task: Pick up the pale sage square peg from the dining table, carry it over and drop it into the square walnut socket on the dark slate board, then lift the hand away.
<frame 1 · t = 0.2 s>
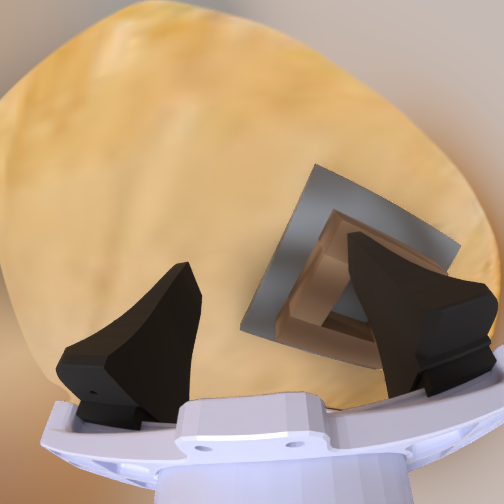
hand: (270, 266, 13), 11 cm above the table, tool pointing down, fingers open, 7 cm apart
socket: (355, 284, 25), on the table
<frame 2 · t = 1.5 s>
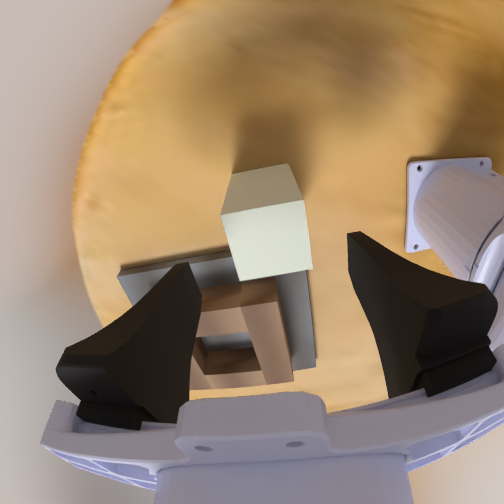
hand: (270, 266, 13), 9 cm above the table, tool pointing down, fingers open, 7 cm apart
socket: (227, 323, 27), on the table
peg: (265, 194, 20), on the table
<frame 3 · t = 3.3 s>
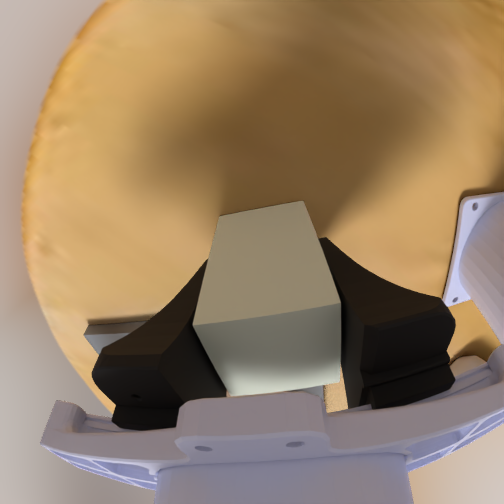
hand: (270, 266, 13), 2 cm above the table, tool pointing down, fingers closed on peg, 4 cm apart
socket: (220, 385, 21), on the table
peg: (268, 244, 14), on the table, touching gripper
tube: (482, 374, 24), on the table
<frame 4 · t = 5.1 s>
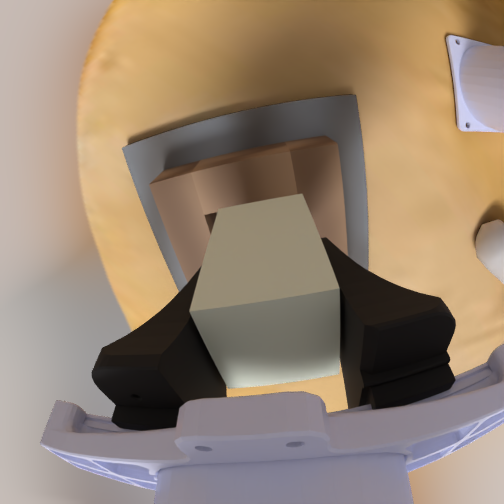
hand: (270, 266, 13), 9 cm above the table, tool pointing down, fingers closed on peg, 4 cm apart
socket: (259, 218, 21), on the table
peg: (267, 237, 14), point 7 cm above the table, touching gripper
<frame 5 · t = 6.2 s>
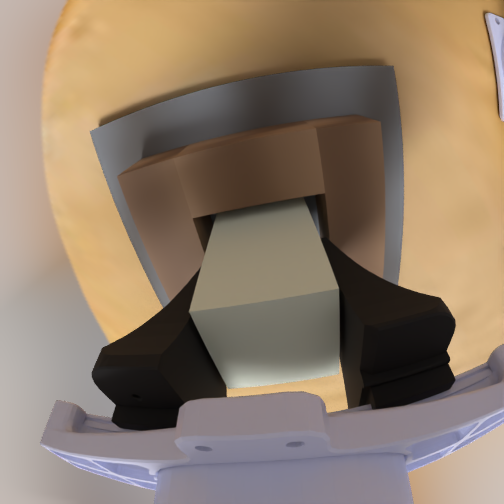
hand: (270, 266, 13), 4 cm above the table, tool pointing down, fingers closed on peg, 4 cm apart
socket: (267, 222, 16), on the table
peg: (267, 238, 14), point 2 cm above the table, touching gripper
when the fingers open (4 cm above the table, at t = 6.9 s): peg drops 1 cm, resting on socket.
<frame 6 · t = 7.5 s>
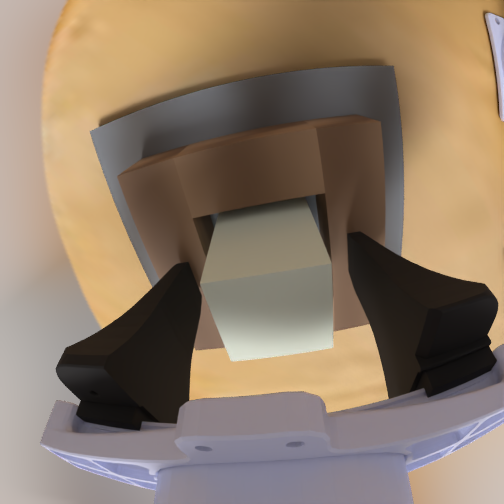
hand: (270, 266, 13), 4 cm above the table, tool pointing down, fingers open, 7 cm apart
socket: (267, 222, 16), on the table
peg: (267, 226, 15), point 1 cm above the table, touching socket
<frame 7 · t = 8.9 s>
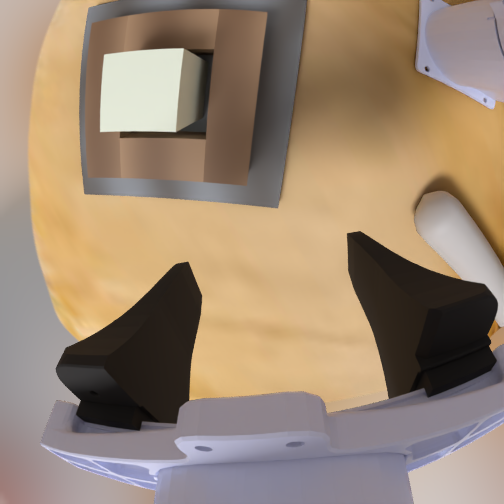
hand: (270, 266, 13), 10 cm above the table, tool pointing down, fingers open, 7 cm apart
socket: (179, 92, 18), on the table
peg: (176, 89, 17), point 1 cm above the table, touching socket
tube: (470, 257, 25), on the table
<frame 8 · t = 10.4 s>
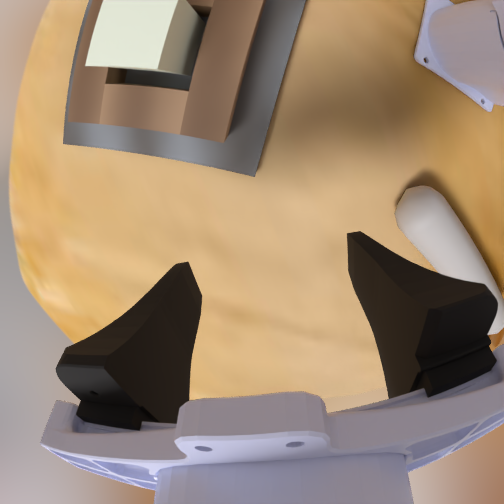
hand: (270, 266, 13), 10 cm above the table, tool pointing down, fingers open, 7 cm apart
socket: (172, 51, 16), on the table
peg: (170, 46, 15), point 1 cm above the table, touching socket
tube: (455, 260, 25), on the table
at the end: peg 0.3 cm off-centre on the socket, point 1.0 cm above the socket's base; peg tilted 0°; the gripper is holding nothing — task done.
